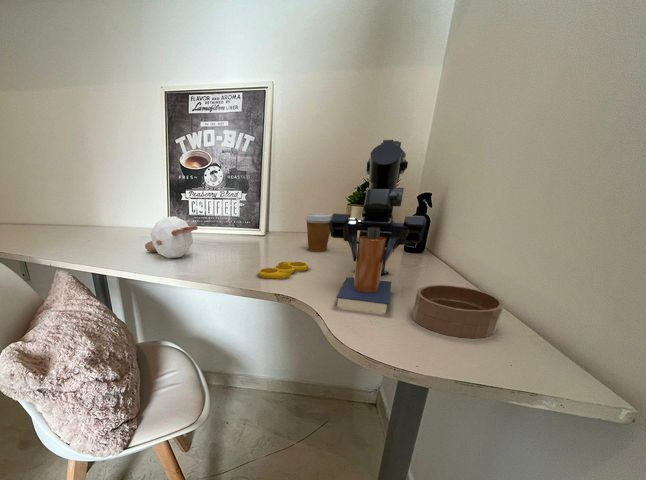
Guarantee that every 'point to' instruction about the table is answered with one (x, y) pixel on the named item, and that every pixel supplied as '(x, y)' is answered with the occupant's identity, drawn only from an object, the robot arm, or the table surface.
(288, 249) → the table surface
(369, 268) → the amber bottle
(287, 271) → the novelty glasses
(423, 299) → the wooden bowl
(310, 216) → the disposable coffee cup
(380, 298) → the book
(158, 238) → the stuffed white mouse
